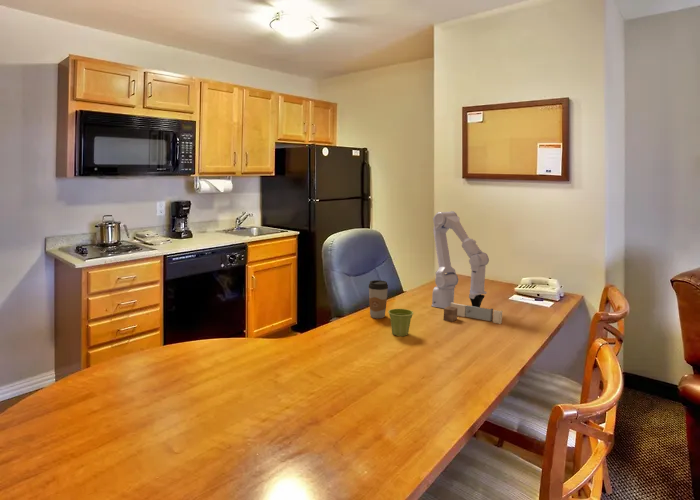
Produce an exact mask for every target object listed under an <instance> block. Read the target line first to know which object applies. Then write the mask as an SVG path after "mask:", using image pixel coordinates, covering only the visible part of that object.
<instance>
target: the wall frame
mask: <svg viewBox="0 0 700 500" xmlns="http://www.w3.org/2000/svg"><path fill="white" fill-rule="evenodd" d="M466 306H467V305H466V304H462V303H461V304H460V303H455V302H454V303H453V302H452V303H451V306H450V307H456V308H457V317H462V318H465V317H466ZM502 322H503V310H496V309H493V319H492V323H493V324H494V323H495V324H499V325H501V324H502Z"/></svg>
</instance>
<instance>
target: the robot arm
mask: <svg viewBox="0 0 700 500" xmlns="http://www.w3.org/2000/svg"><path fill="white" fill-rule="evenodd" d="M432 220H433V229H432V230H433V238H434V243H435V250H436V257H437V263H438V269H437V271H436V272H435V278H434V279H435V286H434V288H433V289H432V297H431V298H432V299H431V307H434V308H440V309H445V308H446V307H448V306H451V303H452V302H453V303H455V288H456V286H457V285H458V283H459V277H458V275H457V273H456V272H457V271H456V269H455V268H453V266H452V264H451V258H450V250H449V246H448V245H449V244H448V239H447V233H448V231H449V229H450V230H452V231H453V232H454V234H455V235H456V236H457V237H458V239H459V240H460V241H461V247H462V249H463V250H464V252H465V254H466V255H467V256H468V263H469V266H470V269H471V274H470V286H469V287H470V289H469V296H468V298H469V301H470V302H471V306H474V307H480V308H481V306H482V302H483V300H484V298H485V295H486V294H487V291H485V280H486V268H487V267H486V266H488V264H489V261H490V260H489V256H488V254H487V253H486V252H485V251H482V249H480V247H479V245H478V244H477V241H476V240H475V239H473V238H470V237H469V236H468V234H467V232H466V230H465V228H464V227H463V225H462V223H461V222H460V217H459V216H458V214H457V212H456V211H452V210H451V211H437V212H436V213H435V215H434V216H433V218H432Z"/></svg>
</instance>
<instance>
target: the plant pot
mask: <svg viewBox="0 0 700 500" xmlns="http://www.w3.org/2000/svg"><path fill="white" fill-rule="evenodd" d="M387 312H388V314H389V318H390V324H391V325H390V326H391V327H390V328H391V334H392V335H394V336H396V337H406V336H408V335H409V332H410V326H411V320H412V318H413V315H414V312H413V311H412V310H411V309H407V308H393V309H389V310H388V311H387Z"/></svg>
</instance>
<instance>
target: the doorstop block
mask: <svg viewBox="0 0 700 500" xmlns="http://www.w3.org/2000/svg"><path fill="white" fill-rule="evenodd" d="M457 319H458V316H457V308H456V307H450V306H448V307H446V308H443V321H447V322H451V323H453V322H455V321H456V320H457Z"/></svg>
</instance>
